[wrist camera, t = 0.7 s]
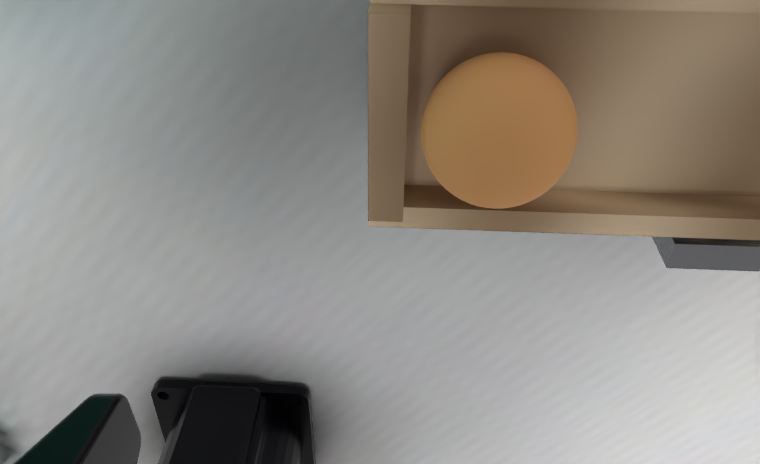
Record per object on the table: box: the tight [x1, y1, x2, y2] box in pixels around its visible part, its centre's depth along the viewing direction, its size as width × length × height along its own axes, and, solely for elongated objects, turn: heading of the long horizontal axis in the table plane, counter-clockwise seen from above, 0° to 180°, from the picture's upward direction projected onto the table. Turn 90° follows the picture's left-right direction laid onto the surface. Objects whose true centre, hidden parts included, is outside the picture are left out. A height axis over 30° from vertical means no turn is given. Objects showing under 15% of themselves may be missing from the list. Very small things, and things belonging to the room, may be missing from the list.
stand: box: [652, 236, 760, 271], centre depth 17 cm, size 11×10×4 cm
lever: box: [368, 0, 760, 240], centre depth 17 cm, size 18×15×3 cm
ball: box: [421, 52, 578, 209], centre depth 14 cm, size 3×3×3 cm
